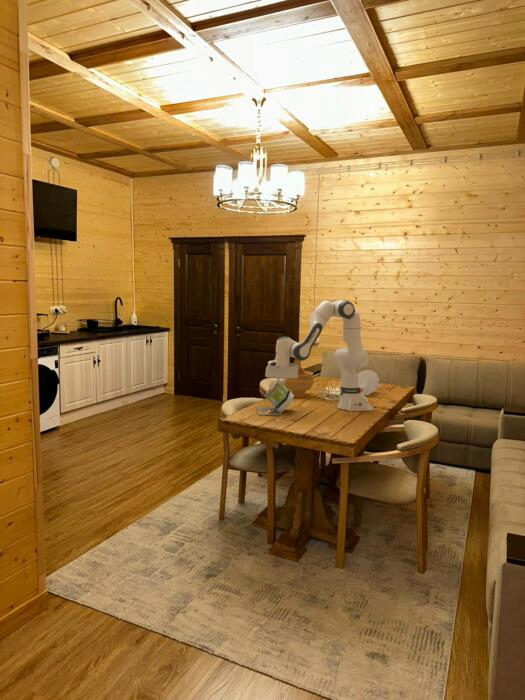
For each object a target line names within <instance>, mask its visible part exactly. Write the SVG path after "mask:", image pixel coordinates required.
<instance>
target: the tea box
mask: <svg viewBox="0 0 525 700" xmlns="http://www.w3.org/2000/svg"><path fill="white" fill-rule="evenodd" d="M264 398H265V399H266V400H267V401H268V402H269V403H270V404H271V405H272V407H275V408H276V409H277V410H278V411H279V412H280V413H281V412H282V413H283V411H285V410H286V409H287V408H288V407H289V406H290V405H291V404H292V402H293V399H294V398H295V397H294V395H293V394H292V391H291V390H290V389H288V388H287V386H286V385H285V384H284V385H279V382H278V380H277V381H276V382H274V383H273V384H272V385H271V386H270V387H269V388H268V390H267V391H266V393H265V394H264Z"/></svg>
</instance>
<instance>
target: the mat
mask: <svg viewBox="0 0 525 700" xmlns="http://www.w3.org/2000/svg"><path fill="white" fill-rule="evenodd" d="M257 407H258V406H255V408H257ZM262 407H263V408H260V409H259V408H257V409H256V412H257V411H258V412H259V411H261V412H262V411H263V412H262V413H264V412H265V410H266V412H267V411H268V409H269V410H271V412H270V411H269V412H270V413H269V412H268V414H262V413H261V412H260V413H261V414H259V415H269V414H270V415H283V414H284V413H283V412H281V413H280V412H279V411H278V410H277V409H276V408H275V407H274V406H269V407H268V406H267V407H266V406H262ZM272 410H273V411H272ZM266 412H265V413H266ZM283 416H284V415H283Z"/></svg>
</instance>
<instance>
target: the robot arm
mask: <svg viewBox="0 0 525 700" xmlns="http://www.w3.org/2000/svg"><path fill="white" fill-rule="evenodd" d="M312 311H313V312H312V313H311V314H310V316H309V318H308V325H309V326H308V327H309V331H308V333H307V335H306V336H305V338H304V340H303V341H302V342H297V341H295V340H293V339H292V338H290V337H289V336H280V337H278V338H277V340H276V344H275V359H273V360H269V361H267V366H266V367H265V375H264V376H265V377H266V378H268V379H269V378H272V379H274V378H275V379H276V380H277V381H278V382H279V385H284V386H285V380H286V378H297V377H298V369H299V366H298V364H296V363H294V362H293V363H292V362H291V361H290V358H294V359H295V358H296V359H298V360H300V361H301V362H302V361H305V360H307V359H308V358H309V357H310V355H311V351H312V349H313V346H314V345H315V344H316V342H317V340H318V338H319V337H320V335H321V333H322V332H323V329H324V328H325V326H326V324H327V323H328V322H329V321H330V319H331V318H332V317H335V318H339V319H340V318H341V319H342V322H343V324H342V341H343V342H344V343H345V345H346V346H347V347H340V348H338V349H336V350H335V352H334V360H335V362H336V363H337V365H338V367H339V370H340V376H341V377H340V378H341V379H340V382H341V383H340V386H339V399H338V404H337V408H338V409H340V410H344V411H345V410H346V411H349V412H363V411H364V412H365V411H367V412H368V411H373V406H371V405H370V403H369V402H370V401H369V398H367V397H366V395H363V394H361V393H360V392H363V389H362V388H359V387H358V379H359V376H358V372H356V371H357V370H355V368H363V367H366V366H367V364H368V363H369V354H368V353H367V352H366V350H365V349H364V348H363V344H362V341H361V340H362V339H361V317H360V313H359V312H358V311H357V310H356V309H355V306H354V304H353V303H352V301H349V300H345V299H339V300H338V299H335V300H332V301H329V300H323V301H321V302H320V303H319V304H318V305H317V306H316V308H314V310H312ZM280 379H283V380H282V381H281V380H280Z"/></svg>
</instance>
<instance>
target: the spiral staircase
mask: <svg viewBox="0 0 525 700" xmlns="http://www.w3.org/2000/svg"><path fill="white" fill-rule="evenodd" d="M357 374H358V376H359V379H358V387H359V388H362V389H363V392H360V393H361V394H363V395H364V396H369V395H370V394H373V393H375V391H376V390H377V389H378V388H379V387H380V380H381V379H380V378H379V376H378V373H376V372H374V371H373V370H372V369H371V370H367V369H365V370H362V371H359V372H357Z"/></svg>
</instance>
